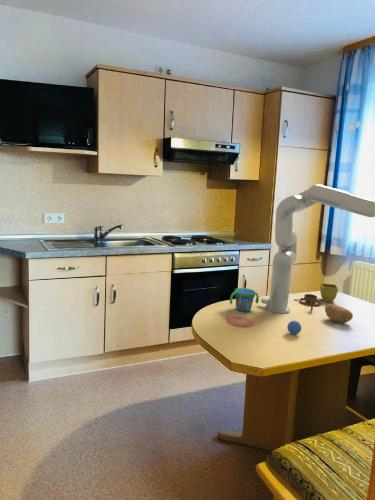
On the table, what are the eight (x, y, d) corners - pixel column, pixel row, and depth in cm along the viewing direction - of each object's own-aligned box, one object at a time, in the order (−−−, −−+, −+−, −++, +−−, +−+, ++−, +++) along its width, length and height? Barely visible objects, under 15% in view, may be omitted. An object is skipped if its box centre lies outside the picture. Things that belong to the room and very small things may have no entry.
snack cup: (253, 306, 217) (255, 287, 215) (261, 313, 207) (263, 294, 205) (225, 306, 214) (227, 287, 212) (232, 313, 204) (234, 293, 202)
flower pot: (320, 301, 235) (322, 286, 234) (318, 297, 244) (320, 282, 242) (336, 303, 234) (338, 288, 232) (333, 299, 242) (335, 284, 241)
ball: (285, 334, 181) (287, 321, 180) (288, 330, 186) (289, 317, 185) (299, 337, 179) (300, 324, 178) (301, 333, 184) (303, 320, 183)
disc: (222, 322, 189) (222, 322, 189) (231, 315, 201) (231, 314, 201) (249, 329, 184) (249, 328, 184) (257, 320, 196) (257, 320, 196)
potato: (344, 328, 195) (346, 312, 193) (319, 318, 206) (321, 303, 204) (355, 325, 200) (358, 309, 199) (331, 315, 211) (333, 301, 210)
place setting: (329, 306, 230) (331, 296, 229) (313, 313, 215) (315, 302, 214) (300, 298, 241) (302, 288, 240) (283, 304, 226) (285, 294, 225)
